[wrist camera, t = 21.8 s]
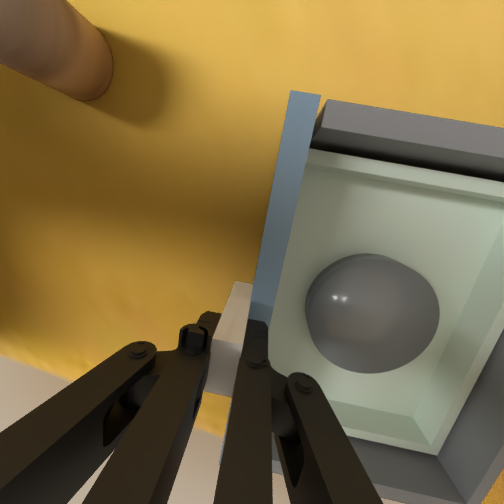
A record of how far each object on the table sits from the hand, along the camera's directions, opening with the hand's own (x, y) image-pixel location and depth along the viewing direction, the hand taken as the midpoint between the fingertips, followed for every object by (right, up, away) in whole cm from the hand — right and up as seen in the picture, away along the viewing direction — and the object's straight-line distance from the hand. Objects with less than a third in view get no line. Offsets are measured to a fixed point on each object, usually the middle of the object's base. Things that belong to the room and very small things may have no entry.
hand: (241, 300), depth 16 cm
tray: (+8, -1, +3) cm, 9 cm away
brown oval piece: (-12, +17, +1) cm, 21 cm away
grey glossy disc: (+10, -1, +2) cm, 10 cm away
